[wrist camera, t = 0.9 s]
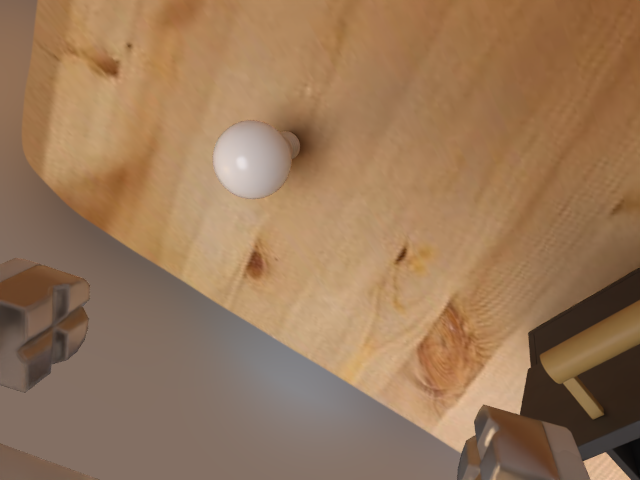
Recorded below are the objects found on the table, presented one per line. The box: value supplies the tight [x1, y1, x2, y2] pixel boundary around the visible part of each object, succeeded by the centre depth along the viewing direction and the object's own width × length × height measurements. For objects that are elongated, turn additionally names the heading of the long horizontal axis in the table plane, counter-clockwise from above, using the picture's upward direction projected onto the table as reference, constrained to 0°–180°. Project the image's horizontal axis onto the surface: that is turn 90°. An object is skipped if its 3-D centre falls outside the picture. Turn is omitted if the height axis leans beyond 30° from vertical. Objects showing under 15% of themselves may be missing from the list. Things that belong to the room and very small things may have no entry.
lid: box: [520, 300, 640, 461], centre depth 30 cm, size 14×16×5 cm
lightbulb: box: [213, 120, 300, 199], centre depth 42 cm, size 6×6×11 cm
